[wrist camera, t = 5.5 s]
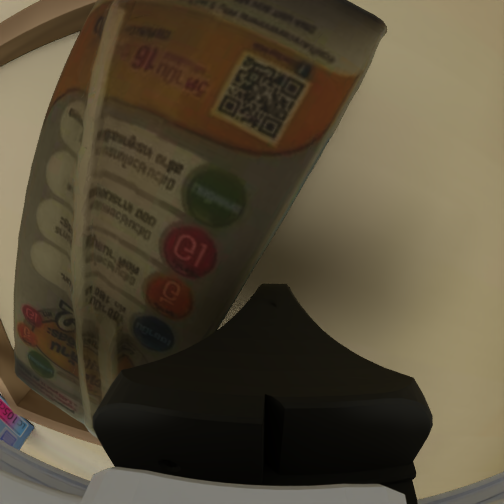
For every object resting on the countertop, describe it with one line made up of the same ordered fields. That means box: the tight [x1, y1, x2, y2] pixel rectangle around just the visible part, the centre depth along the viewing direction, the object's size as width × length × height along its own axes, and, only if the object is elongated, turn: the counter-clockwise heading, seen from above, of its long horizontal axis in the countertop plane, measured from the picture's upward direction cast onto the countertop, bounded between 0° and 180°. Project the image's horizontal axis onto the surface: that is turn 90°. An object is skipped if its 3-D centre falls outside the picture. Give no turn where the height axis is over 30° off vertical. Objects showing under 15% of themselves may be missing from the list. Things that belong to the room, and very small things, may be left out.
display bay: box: [0, 0, 102, 446], centre depth 14 cm, size 27×18×2 cm, turn 1°
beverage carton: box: [14, 0, 387, 438], centre depth 11 cm, size 8×19×7 cm, turn 152°
